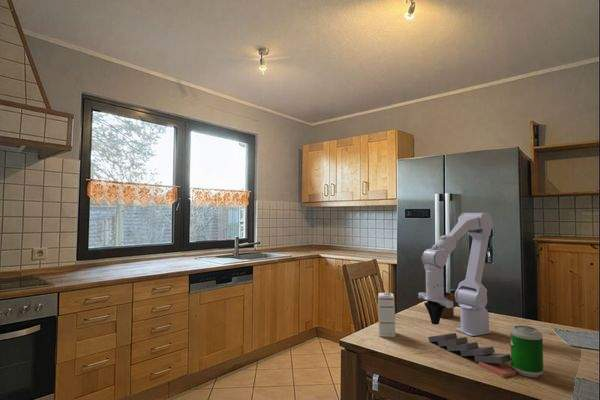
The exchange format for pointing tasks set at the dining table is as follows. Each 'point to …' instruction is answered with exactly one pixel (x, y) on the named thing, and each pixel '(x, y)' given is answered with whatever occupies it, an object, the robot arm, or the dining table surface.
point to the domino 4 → (478, 351)
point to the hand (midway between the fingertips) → (435, 323)
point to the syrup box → (386, 314)
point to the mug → (449, 311)
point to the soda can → (527, 351)
